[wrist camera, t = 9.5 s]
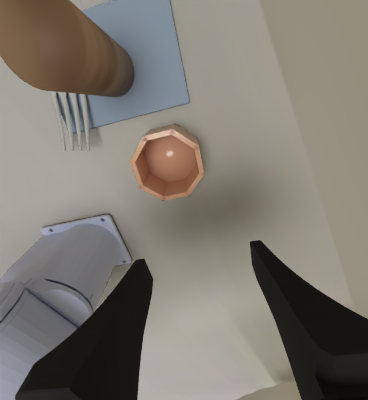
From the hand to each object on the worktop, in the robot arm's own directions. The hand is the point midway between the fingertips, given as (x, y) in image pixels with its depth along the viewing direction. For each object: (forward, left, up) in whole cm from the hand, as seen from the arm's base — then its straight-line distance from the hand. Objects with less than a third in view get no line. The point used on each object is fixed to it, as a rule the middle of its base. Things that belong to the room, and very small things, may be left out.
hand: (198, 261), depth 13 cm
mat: (-4, +13, -10) cm, 18 cm away
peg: (-4, +13, -10) cm, 17 cm away
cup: (-1, +5, -10) cm, 12 cm away
